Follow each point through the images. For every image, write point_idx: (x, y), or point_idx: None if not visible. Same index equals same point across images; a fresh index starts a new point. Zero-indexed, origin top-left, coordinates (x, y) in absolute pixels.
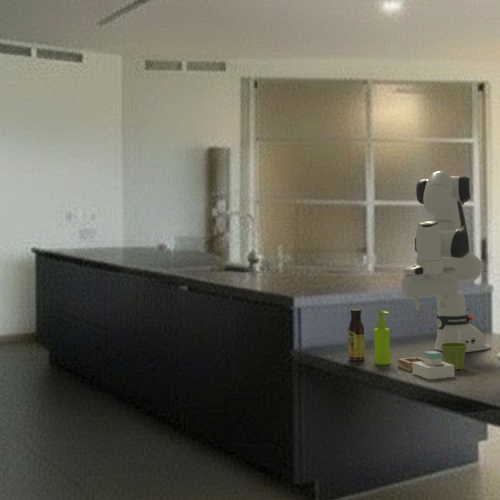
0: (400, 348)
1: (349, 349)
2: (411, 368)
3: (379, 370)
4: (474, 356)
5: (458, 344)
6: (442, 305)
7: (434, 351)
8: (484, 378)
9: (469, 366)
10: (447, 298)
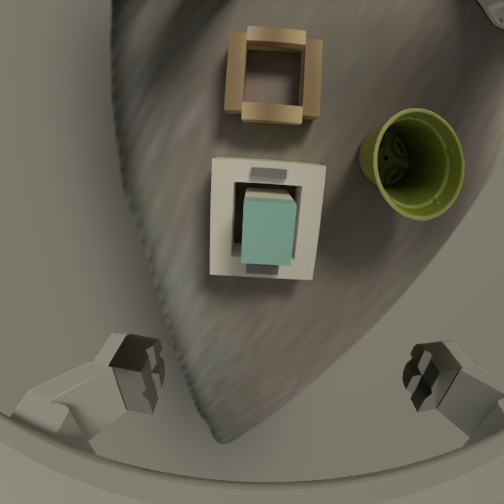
0: None
1: None
2: (238, 112)
3: (150, 64)
4: (497, 69)
5: (453, 143)
6: (412, 385)
7: (286, 220)
8: (357, 312)
9: None
10: (472, 430)
